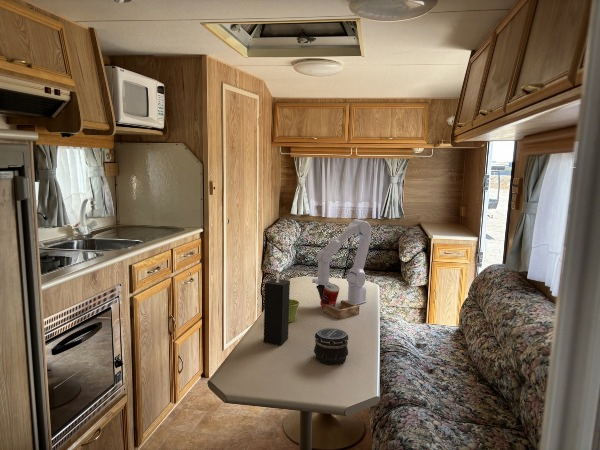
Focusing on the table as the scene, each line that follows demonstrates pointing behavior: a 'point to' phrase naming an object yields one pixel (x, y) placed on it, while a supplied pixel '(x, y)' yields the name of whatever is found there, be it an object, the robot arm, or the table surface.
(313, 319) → the table surface
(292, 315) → the plant pot
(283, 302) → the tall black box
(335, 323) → the table surface
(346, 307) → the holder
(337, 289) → the canned food
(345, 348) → the container
